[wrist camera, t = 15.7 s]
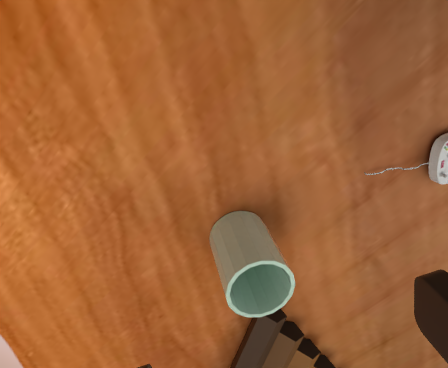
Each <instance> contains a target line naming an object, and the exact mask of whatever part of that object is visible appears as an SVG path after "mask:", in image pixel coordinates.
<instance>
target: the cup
mask: <svg viewBox="0 0 448 368" xmlns="http://www.w3.org/2000/svg"><path fill="white" fill-rule="evenodd" d="M209 241H210V246H211V249H212V253H213V256H214V260H215V263H216V266H217V270H218V273H219V276H220V280H221V283H222V286H223V290H224V293H225V296H226V300H227V303H228V306H229V307H230V308H231V309H232V310H233V311H234V312H235V313H237V314H239V315H242V316H245V317H263V316H266V315H269V314H272V313H274V312H276V311H277V310H279V309H280V308H281V307H283V306H284V305H285V304H286V303H287V301H288V300H289V299H290V298H291V296H292V294H293V291H294V287H295V280H294V275H293V272H292V271H291V269H290V267H289V265H288V264H287V262H286V260H285V258H284V256H283V255H282V253H281V251H280V249H279V248H278V246H277V244H276V242H275V241H274V239H273V237H272V235H271V233H270V232H269V230H268V228H267V226H266V225H265V224H264V222H263V221H262V219H261V218H260V217H259V216H257V215H256V214H254V213H252V212H248V211H235V212H231V213H229V214H227V215H225V216H223V217H222V218H220V219H219V220H218V221H217V222H216V223H215V225H214V226H213V228H212V230H211V232H210V237H209Z"/></svg>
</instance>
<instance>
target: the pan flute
mask: <svg viewBox="0 0 448 368" xmlns="http://www.w3.org/2000/svg"><path fill="white" fill-rule="evenodd" d="M286 318H287V316H286V315H285V314H284V312H283V311H282V310H281V309H279V310H277V311H276V312H274V313H272V314H269V315H266V316H263V317H253V319H252V321H251V323H250V326H249V328H248V330H247V332H246V334H245V337H244V339H243V341H242V343H241V345H240V348H239V350H238V352H237V354H236V357H235V359H234V361H233V363H232V365H231V368H335V367H334V365H333V364H332V363H331V362H330V361H329V359H328V358H327V357H326V356H325V355H320V353H321V352H320V351H319V350H318V348H317V347H316V346H315V345H314V344H313V342H312V341H311V340H310V339H303V337H304V334H303V333H302V331H301V330H300V329H299V328H298V327H297V325H296V324H295V323H294V322H288V321H285V320H286Z"/></svg>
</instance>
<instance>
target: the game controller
mask: <svg viewBox="0 0 448 368" xmlns="http://www.w3.org/2000/svg"><path fill="white" fill-rule="evenodd" d="M425 164H429V167H428V169H429V177H430V179H431V180H433V181H435V182H437V183H439V184H447V183H448V133H446V134H443V135H441V136H440V137H439V138H437V139H436V140H435V142H434V144H433V146H432V149H431V153H430V158H429V163H425ZM425 164H421V165H425ZM421 165H420V166H421ZM420 166H419V167H420ZM415 168H418V167H415ZM390 169H403V168H390ZM390 169H386V170H390ZM407 169H414V168H407ZM386 170H384V171H386ZM403 170H406V169H403ZM384 171H383V172H384ZM383 172H380V173H383ZM374 174H379V173H374ZM374 174H366V175H374Z"/></svg>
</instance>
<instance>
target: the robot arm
mask: <svg viewBox="0 0 448 368" xmlns="http://www.w3.org/2000/svg"><path fill="white" fill-rule="evenodd" d="M414 315H415V319H416V322H417V324H418V326H419V328H420V330H421V332H422V333H423V335H424V336H425V337H426V338H427V339H428V341H429V342H430V343H431V344H432V345H433V347H434V348H435V349H436V350H437V351H438V352H439V354H440V355H441V356H442V357H443V358H444V360H445V361H446V362H447V363H448V273H447V272H446V271H444V270H437V271H434V272H431V273H428V274H425V275H422V276H419V277H416V279H415V283H414ZM138 368H152V367H151V365H150V364H147V365H144V366H141V367H138Z"/></svg>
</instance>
